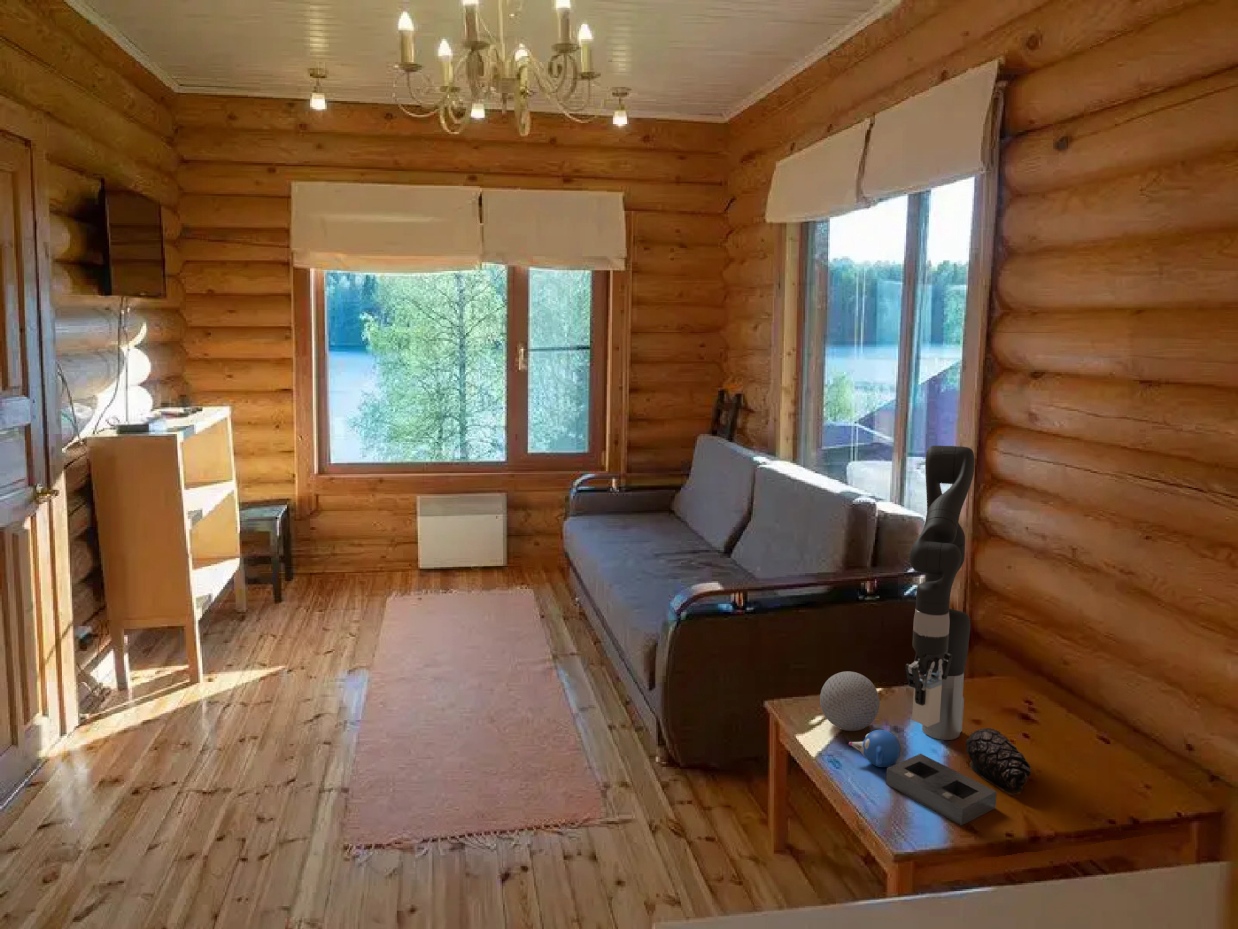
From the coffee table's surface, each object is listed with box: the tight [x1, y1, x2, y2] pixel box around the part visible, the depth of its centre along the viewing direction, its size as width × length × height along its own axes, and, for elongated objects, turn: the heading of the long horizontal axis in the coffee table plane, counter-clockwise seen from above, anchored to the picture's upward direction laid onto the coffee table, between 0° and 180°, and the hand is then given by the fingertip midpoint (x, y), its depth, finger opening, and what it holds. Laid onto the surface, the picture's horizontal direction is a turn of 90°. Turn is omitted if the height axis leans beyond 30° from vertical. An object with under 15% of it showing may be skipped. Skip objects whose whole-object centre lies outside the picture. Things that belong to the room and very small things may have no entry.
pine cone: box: [965, 727, 1032, 797], centre depth 207 cm, size 10×18×10 cm, turn 21°
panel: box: [885, 753, 998, 827], centre depth 200 cm, size 12×20×4 cm, turn 34°
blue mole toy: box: [848, 729, 901, 768], centre depth 214 cm, size 12×12×8 cm
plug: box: [911, 674, 942, 727], centre depth 200 cm, size 4×4×11 cm
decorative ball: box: [819, 671, 881, 732], centre depth 231 cm, size 15×15×15 cm
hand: (926, 701), depth 200 cm, fingers closed on plug, 4 cm apart
